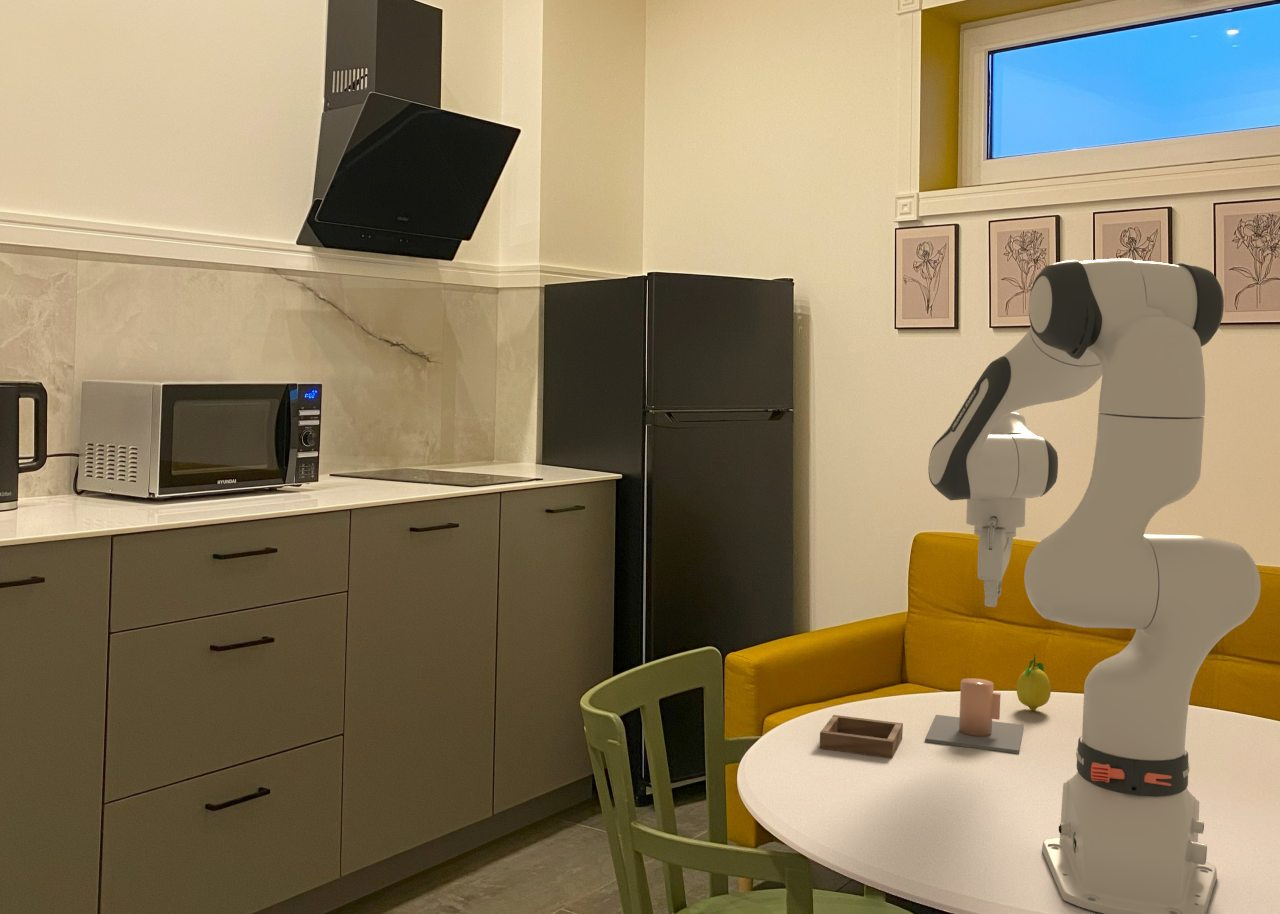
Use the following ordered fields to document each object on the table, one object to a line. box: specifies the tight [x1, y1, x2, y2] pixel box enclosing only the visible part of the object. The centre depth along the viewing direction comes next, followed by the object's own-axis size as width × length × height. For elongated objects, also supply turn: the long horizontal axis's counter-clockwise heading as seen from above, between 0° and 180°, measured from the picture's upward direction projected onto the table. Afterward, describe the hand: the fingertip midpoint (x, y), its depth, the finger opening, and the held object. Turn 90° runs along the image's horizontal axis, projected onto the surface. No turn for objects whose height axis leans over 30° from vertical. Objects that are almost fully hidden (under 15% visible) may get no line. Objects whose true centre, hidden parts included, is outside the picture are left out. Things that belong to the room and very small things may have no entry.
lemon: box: [1016, 653, 1052, 712], centre depth 196 cm, size 7×6×10 cm
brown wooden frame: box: [819, 714, 904, 759], centre depth 177 cm, size 10×11×2 cm
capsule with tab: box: [959, 677, 1001, 736], centre depth 182 cm, size 5×6×8 cm
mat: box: [924, 714, 1025, 754], centre depth 182 cm, size 14×14×1 cm
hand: (992, 601), depth 180 cm, fingers open, 8 cm apart
